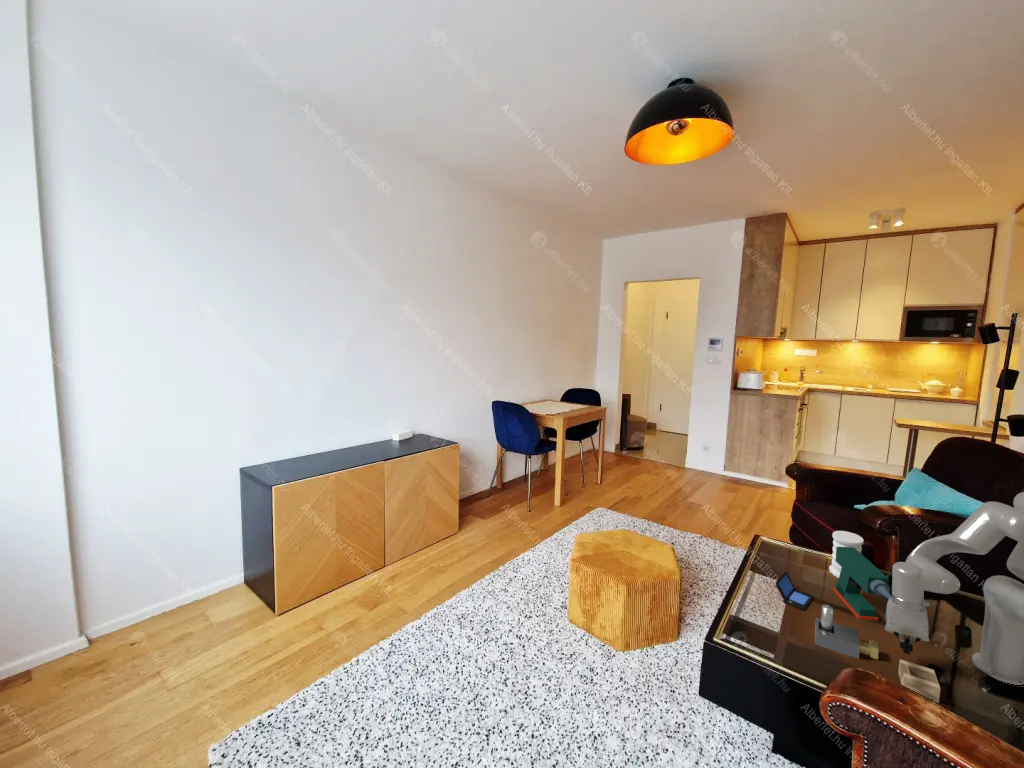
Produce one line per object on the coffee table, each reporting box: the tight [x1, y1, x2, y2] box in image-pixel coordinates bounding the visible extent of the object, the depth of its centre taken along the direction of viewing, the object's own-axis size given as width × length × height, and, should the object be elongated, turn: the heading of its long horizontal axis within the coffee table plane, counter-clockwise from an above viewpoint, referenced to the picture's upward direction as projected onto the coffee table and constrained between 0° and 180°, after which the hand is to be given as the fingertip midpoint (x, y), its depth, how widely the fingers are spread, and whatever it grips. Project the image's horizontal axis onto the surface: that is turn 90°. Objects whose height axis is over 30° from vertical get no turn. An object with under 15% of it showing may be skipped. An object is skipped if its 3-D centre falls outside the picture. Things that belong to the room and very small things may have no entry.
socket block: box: [814, 617, 860, 660], centre depth 150 cm, size 12×9×5 cm
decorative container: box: [828, 530, 864, 579], centre depth 188 cm, size 12×12×18 cm
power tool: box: [832, 547, 892, 622], centre depth 162 cm, size 32×7×20 cm, turn 168°
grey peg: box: [820, 604, 834, 633], centre depth 151 cm, size 3×3×13 cm
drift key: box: [833, 633, 879, 660], centre depth 147 cm, size 12×4×4 cm, turn 55°
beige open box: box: [898, 659, 941, 704], centre depth 131 cm, size 8×8×5 cm
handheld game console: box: [775, 571, 814, 611], centre depth 174 cm, size 12×11×7 cm
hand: (906, 651), depth 140 cm, fingers closed
